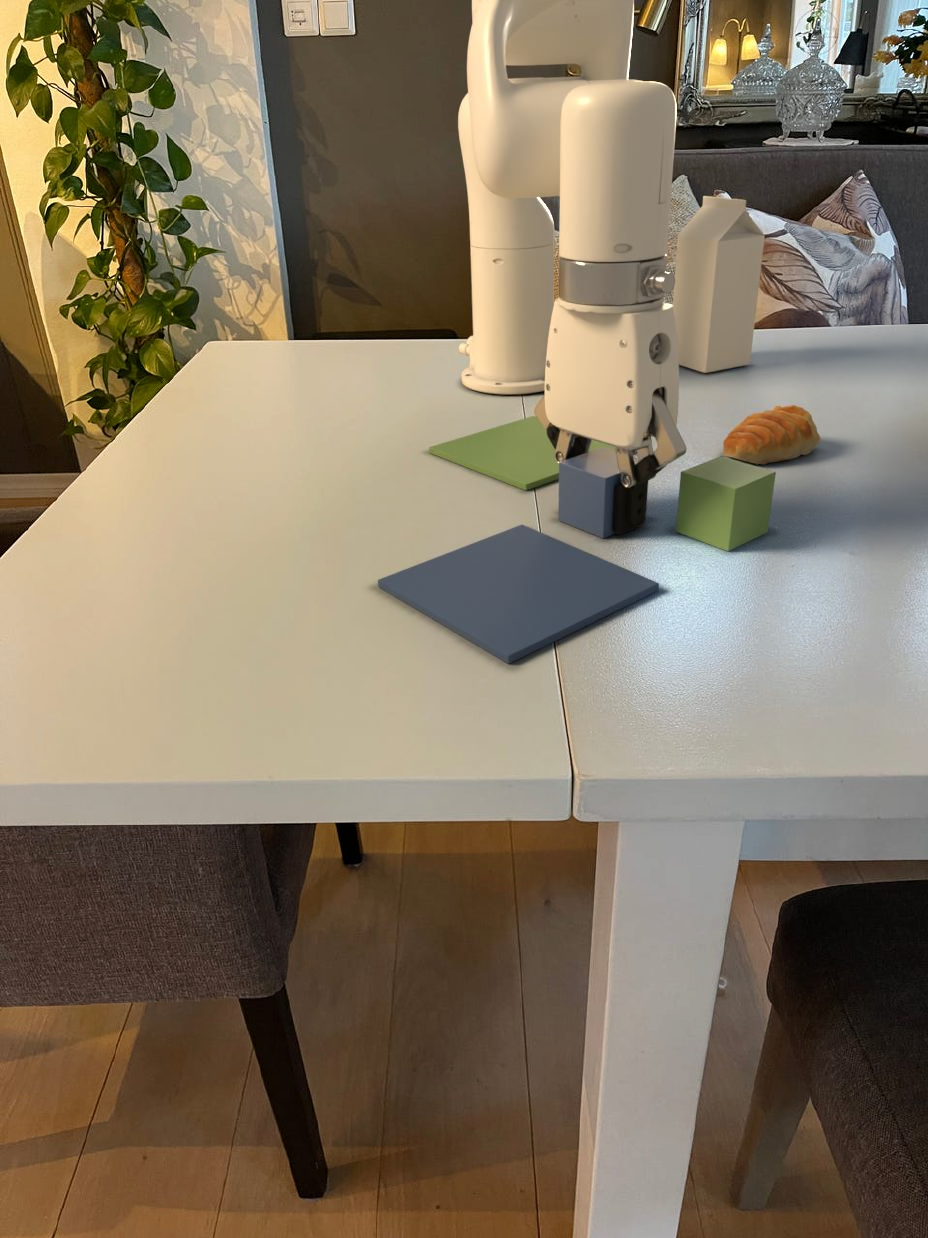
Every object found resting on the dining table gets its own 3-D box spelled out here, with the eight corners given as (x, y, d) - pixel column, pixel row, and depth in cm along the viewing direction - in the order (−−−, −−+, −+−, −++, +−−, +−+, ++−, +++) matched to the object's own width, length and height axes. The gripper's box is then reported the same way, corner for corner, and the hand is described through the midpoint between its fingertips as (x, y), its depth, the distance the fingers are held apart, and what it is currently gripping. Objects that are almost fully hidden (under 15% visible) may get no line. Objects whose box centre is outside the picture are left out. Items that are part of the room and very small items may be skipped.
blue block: (557, 520, 75) (558, 461, 72) (600, 503, 78) (602, 446, 75) (603, 539, 72) (605, 478, 69) (645, 520, 74) (649, 461, 72)
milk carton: (705, 374, 111) (721, 202, 102) (667, 362, 117) (679, 198, 107) (750, 365, 114) (770, 197, 104) (711, 354, 119) (727, 193, 110)
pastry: (763, 474, 82) (768, 433, 80) (702, 456, 87) (705, 417, 85) (823, 449, 87) (829, 410, 85) (762, 434, 92) (767, 396, 90)
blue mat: (378, 587, 66) (377, 579, 66) (522, 530, 73) (522, 524, 73) (508, 664, 56) (508, 656, 56) (658, 590, 64) (659, 583, 64)
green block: (675, 531, 72) (680, 471, 70) (715, 514, 75) (721, 455, 72) (728, 551, 69) (735, 489, 66) (767, 532, 71) (776, 471, 69)
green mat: (428, 452, 90) (428, 446, 90) (533, 420, 98) (533, 415, 98) (526, 490, 81) (526, 484, 80) (633, 452, 88) (633, 446, 88)
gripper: (744, 288, 62) (717, 536, 71) (564, 263, 73) (560, 478, 82) (671, 306, 58) (652, 566, 67) (493, 276, 69) (497, 501, 78)
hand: (601, 515), depth 74 cm, fingers closed on blue block, 5 cm apart
